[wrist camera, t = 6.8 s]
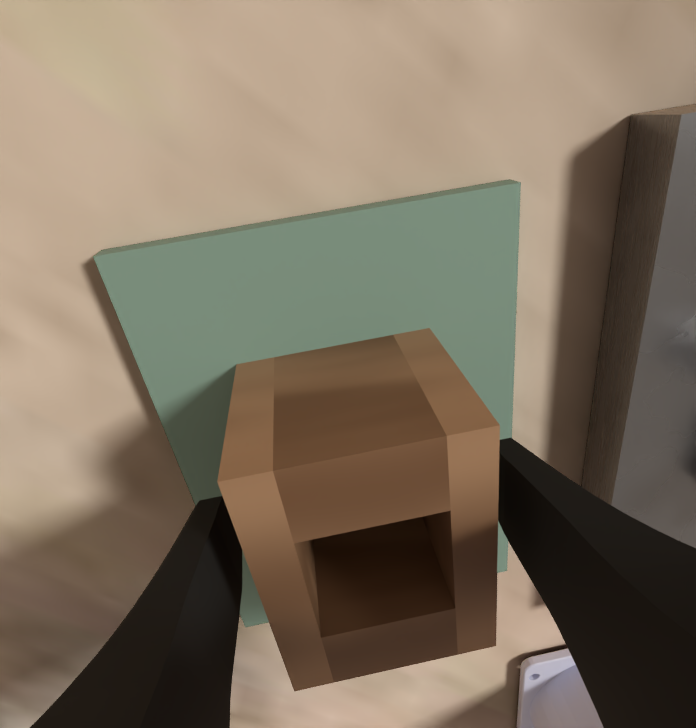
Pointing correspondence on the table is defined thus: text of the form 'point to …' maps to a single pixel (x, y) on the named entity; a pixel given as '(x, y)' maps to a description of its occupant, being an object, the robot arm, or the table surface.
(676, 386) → the vise
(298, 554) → the sleeve block
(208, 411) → the mat
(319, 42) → the table surface
